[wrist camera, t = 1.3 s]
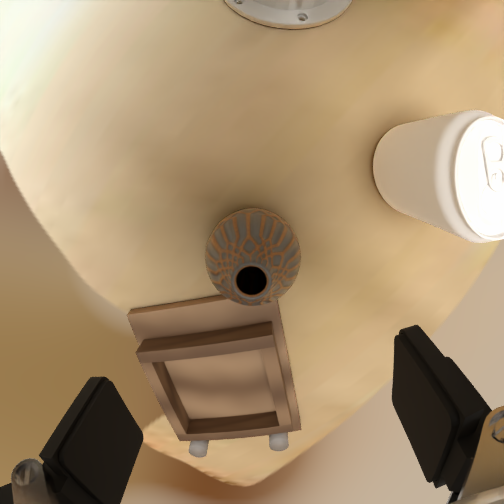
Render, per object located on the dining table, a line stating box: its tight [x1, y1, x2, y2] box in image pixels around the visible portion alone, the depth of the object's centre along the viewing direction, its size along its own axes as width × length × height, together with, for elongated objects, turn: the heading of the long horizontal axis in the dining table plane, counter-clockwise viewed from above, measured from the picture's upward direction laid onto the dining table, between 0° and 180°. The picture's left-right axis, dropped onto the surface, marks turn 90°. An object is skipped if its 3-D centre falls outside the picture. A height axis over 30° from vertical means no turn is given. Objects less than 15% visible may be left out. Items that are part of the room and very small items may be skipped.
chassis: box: [127, 295, 301, 457], centre depth 28 cm, size 18×14×4 cm
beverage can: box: [373, 110, 504, 243], centre depth 18 cm, size 8×8×12 cm
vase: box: [205, 208, 301, 306], centre depth 22 cm, size 7×7×9 cm
